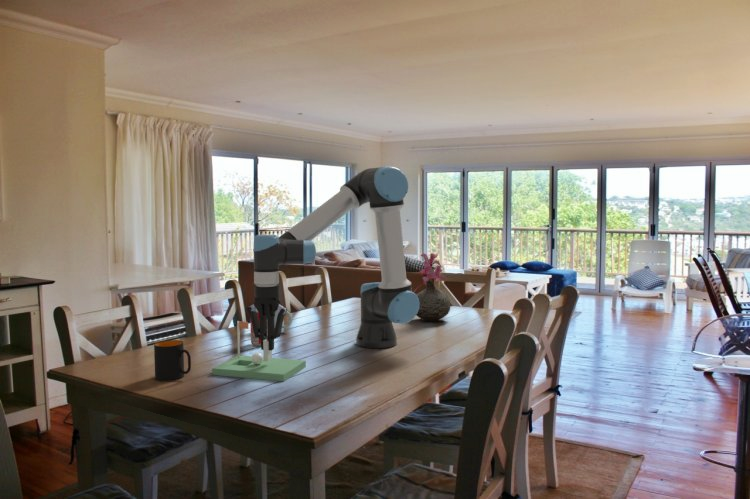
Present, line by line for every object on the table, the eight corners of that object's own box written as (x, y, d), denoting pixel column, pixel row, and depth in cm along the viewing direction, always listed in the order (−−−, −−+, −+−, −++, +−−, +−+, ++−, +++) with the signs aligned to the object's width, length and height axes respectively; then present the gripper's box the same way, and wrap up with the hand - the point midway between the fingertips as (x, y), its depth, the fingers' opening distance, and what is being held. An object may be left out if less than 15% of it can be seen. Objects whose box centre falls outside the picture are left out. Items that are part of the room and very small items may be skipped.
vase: (455, 319, 262) (456, 253, 260) (438, 326, 248) (439, 256, 245) (422, 315, 271) (423, 251, 269) (404, 322, 257) (404, 254, 254)
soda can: (266, 347, 212) (265, 312, 211) (247, 346, 213) (247, 311, 212) (273, 342, 219) (272, 308, 218) (255, 341, 220) (254, 307, 219)
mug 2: (256, 332, 236) (256, 308, 235) (269, 328, 245) (268, 304, 244) (285, 335, 231) (285, 310, 230) (297, 330, 240) (297, 306, 239)
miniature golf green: (305, 366, 186) (305, 323, 185) (284, 381, 171) (283, 334, 169) (238, 361, 193) (238, 319, 192) (212, 374, 177) (211, 329, 176)
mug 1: (181, 384, 168) (180, 348, 167) (148, 379, 173) (147, 345, 172) (200, 376, 176) (199, 342, 175) (168, 372, 180) (167, 339, 179)
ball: (252, 359, 184) (262, 365, 183) (247, 362, 180) (257, 367, 179) (257, 349, 183) (267, 355, 182) (252, 352, 180) (262, 358, 179)
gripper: (291, 284, 180) (292, 358, 182) (253, 282, 184) (254, 355, 186) (280, 287, 173) (281, 365, 175) (241, 285, 177) (242, 361, 179)
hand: (267, 360), depth 180 cm, fingers closed
